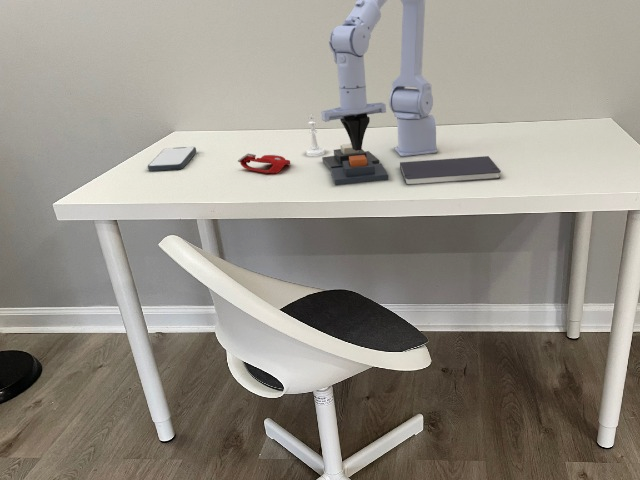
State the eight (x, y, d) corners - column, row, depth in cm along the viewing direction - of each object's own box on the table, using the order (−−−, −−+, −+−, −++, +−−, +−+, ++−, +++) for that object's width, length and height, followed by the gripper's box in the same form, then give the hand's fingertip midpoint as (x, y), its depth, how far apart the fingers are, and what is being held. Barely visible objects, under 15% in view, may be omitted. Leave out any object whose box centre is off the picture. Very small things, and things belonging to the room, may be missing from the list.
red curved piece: (285, 156, 157) (296, 155, 148) (285, 174, 158) (295, 174, 149) (236, 152, 152) (244, 151, 143) (236, 170, 152) (244, 171, 144)
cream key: (355, 150, 153) (354, 143, 152) (359, 153, 150) (358, 146, 149) (340, 151, 152) (340, 144, 151) (344, 155, 149) (343, 148, 148)
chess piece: (321, 156, 160) (317, 116, 155) (303, 156, 161) (298, 116, 156) (327, 151, 164) (323, 112, 159) (309, 150, 165) (305, 112, 160)
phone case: (183, 170, 154) (198, 152, 168) (181, 164, 154) (197, 146, 167) (147, 172, 154) (165, 153, 168) (145, 166, 153) (164, 147, 167)
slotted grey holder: (381, 169, 148) (380, 155, 146) (388, 180, 140) (387, 166, 138) (331, 174, 146) (330, 160, 144) (335, 185, 138) (333, 171, 137)
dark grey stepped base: (369, 156, 158) (368, 143, 156) (379, 165, 150) (378, 152, 149) (322, 162, 155) (321, 149, 153) (331, 172, 147) (329, 159, 146)
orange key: (365, 162, 143) (364, 154, 143) (367, 166, 140) (366, 159, 140) (349, 163, 143) (348, 156, 142) (351, 168, 140) (350, 160, 139)
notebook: (488, 162, 149) (400, 168, 147) (488, 155, 148) (399, 162, 147) (501, 178, 138) (405, 185, 136) (501, 171, 137) (405, 178, 136)
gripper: (374, 79, 139) (378, 140, 146) (313, 87, 134) (320, 150, 140) (388, 84, 134) (391, 147, 140) (325, 92, 128) (332, 157, 135)
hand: (357, 149), depth 140 cm, fingers closed
